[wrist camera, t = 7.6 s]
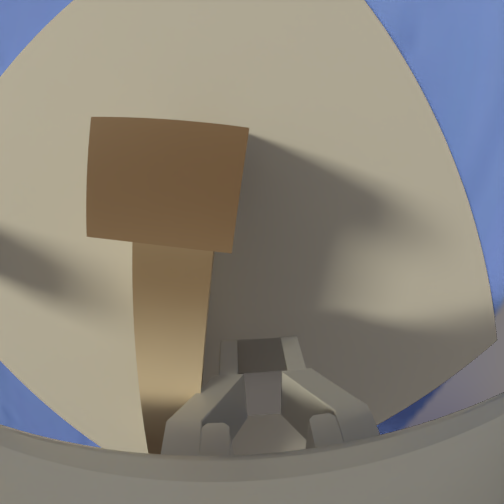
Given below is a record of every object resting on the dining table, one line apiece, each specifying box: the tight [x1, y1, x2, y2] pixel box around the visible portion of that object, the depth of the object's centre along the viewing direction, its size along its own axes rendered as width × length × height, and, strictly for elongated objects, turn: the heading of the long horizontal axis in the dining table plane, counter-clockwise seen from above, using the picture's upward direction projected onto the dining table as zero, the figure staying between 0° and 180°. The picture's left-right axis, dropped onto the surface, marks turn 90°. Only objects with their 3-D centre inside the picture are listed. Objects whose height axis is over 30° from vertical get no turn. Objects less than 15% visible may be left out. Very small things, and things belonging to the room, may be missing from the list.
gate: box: [86, 117, 249, 454], centre depth 9 cm, size 17×2×6 cm, turn 172°
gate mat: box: [0, 0, 497, 455], centre depth 12 cm, size 23×24×1 cm
